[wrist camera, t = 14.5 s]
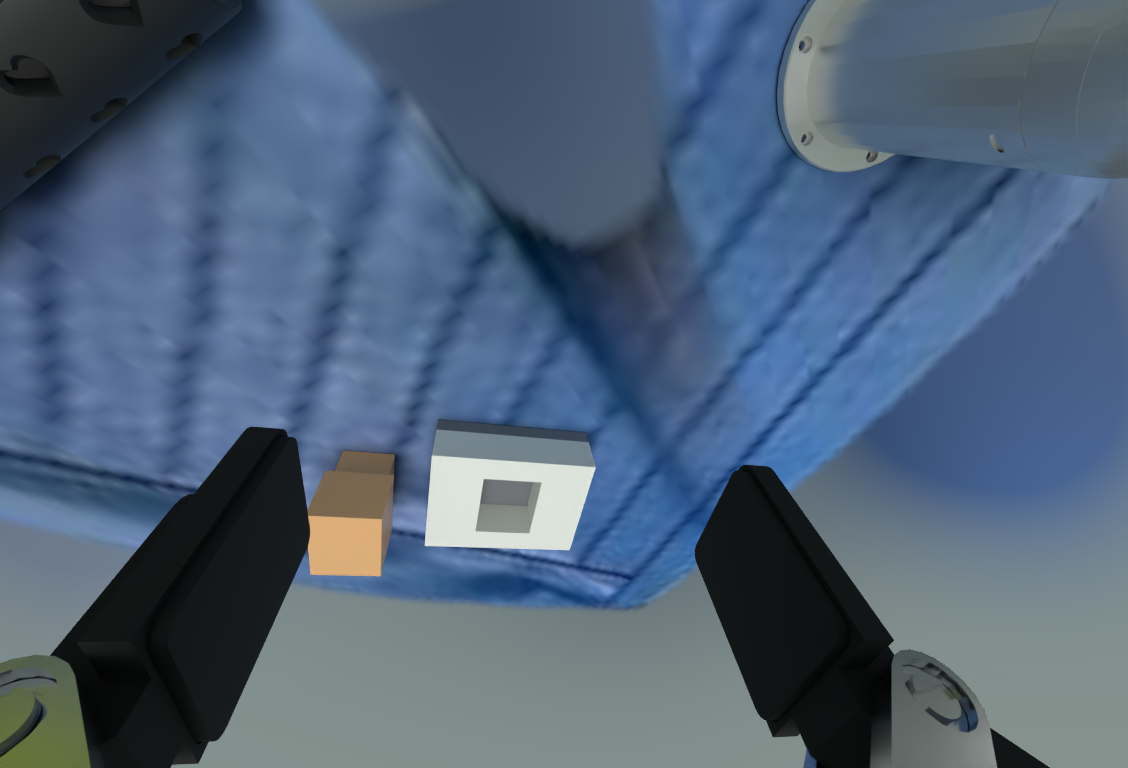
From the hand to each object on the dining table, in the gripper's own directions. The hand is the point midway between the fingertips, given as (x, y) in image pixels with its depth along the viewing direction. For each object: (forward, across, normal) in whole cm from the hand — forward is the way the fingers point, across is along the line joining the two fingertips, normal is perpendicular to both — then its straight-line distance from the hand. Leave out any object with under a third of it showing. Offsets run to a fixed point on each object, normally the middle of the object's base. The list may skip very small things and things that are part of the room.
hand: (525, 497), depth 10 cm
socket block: (+27, -2, +24) cm, 36 cm away
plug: (+27, +11, +26) cm, 39 cm away
